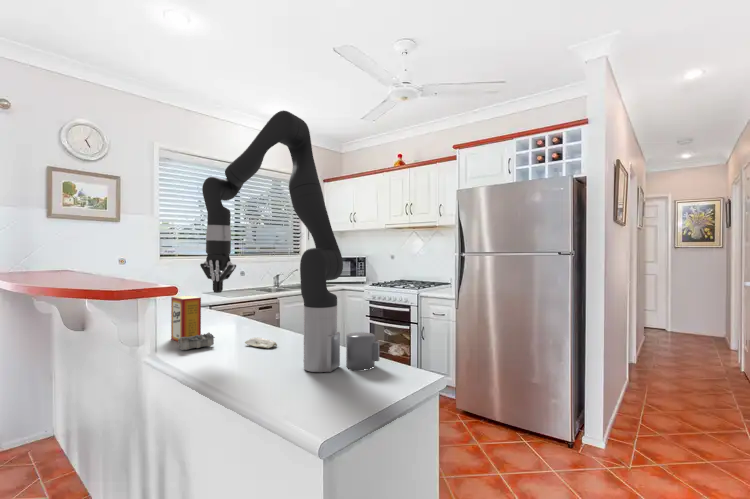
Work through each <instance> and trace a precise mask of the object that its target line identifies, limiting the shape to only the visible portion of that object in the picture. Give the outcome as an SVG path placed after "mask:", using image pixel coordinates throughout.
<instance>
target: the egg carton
mask: <svg viewBox="0 0 750 499" xmlns="http://www.w3.org/2000/svg"><path fill="white" fill-rule="evenodd" d="M215 338H216V337H215V336H214V335H213V334H212V333H210V332H206V333H201V335H196V336H191V337H181V338H179V339H178V342H177V343H178V349H180V351H183V350H185V351H186V350H191V349H195V348H196V349H199V348H203V347H211V346H214V344H215V343H214V341H215V340H214V339H215Z"/></svg>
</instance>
